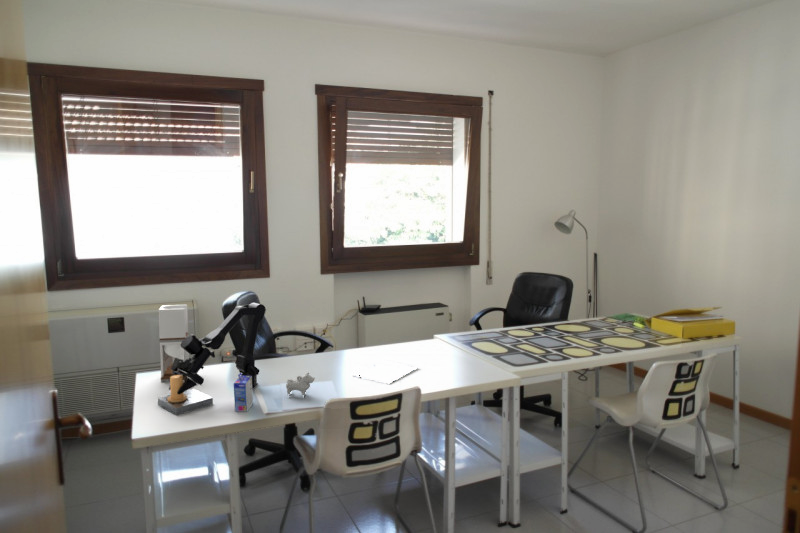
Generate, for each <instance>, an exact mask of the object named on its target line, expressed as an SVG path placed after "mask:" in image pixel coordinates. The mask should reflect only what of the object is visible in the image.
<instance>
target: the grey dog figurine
mask: <svg viewBox="0 0 800 533" xmlns="http://www.w3.org/2000/svg"><path fill="white" fill-rule="evenodd" d="M315 380H316V377H313V376H312V375H310V372H306V373H305V374H304V375H302V376H301V375H298V376H296V380H293V379H290V378H289V379H287V381H286V385H285V388H286V392H287V395H288V394H290V392H291V391H292V392H293V391H297V392H298V391H299V392H301V396H302V395H305V392H306V393H307V390H309V389H310V387H311V384H312V383H313V384H314V381H315ZM290 395H291V394H290ZM305 396H306V395H305Z"/></svg>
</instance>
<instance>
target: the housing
mask: <svg viewBox="0 0 800 533" xmlns="http://www.w3.org/2000/svg"><path fill="white" fill-rule="evenodd" d="M184 395H187V399H186V400H185V401H183V402H180V403H176V404H172V403H171V402H168V401H167V398H168V397H169V396H171V394H168V395H164V396H160V397H157V405H158V406H159V407H161V408H162V409H165V411H168V412H170V413H172V414H173V415H174V416H179V415H182V414H185V413H189V412H192V411H195V410H199V409H202V408H206V407H209V406H212V405H214V401H213V400H214V398H213V397H212V396H211V395H208V394H206V393H204V392H202V391H199V390H198V389H196V388H190V389H188V390H186V391H185V392H184Z"/></svg>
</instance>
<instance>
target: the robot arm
mask: <svg viewBox="0 0 800 533" xmlns="http://www.w3.org/2000/svg"><path fill="white" fill-rule="evenodd" d="M266 312H267V309H266V306H265V305H264V304H262V303H258V302H251V303H250V304H243V305H236V306H235V307H234V309H233V310H232V312H230V314H229V315H228V316H227V317H226V318H225V319H224V320H223V322H222V323H220V325H219V326H218V327H217V328H216V329H214V330H212V331H210V332H209V333H208V334H206V335H205V336H204V337H203V338H200V339H199V338H197V336H196V335H195V334H190V336H189V335H188V337H187V338H185V339H184V340H183V341H182V342H181V347H182V348H183V349H184V350H186V351H187V352H188V355H190V356H191V355H193V356H192V357H191V358H190V357H189V358H188V359H180V358H176V357H175V360H174V362H173V366H172V367H171V368H170V369H172V370H173V371H172V372H173V376H174V375H182V376H183V377H185V376H187V377H185V379H184V378H183V380H184V381H183V384H182V386H181V387H180V389H179V391H178V392H177V394H181V393H183V392H185V391H186V390H190V389H193V388H194V387H196V386H198V385H199V386H202V385H203V383H204V382H205V378H204V377H203V376H202V375H199V374H198V373H199V372H200V370H203V369H204V368H205V367H204V365H205V364H206V362H207V361H208V360H209V358H210V357H211V358H213V359H214V358H216V354H215V351H216V350H219V349H220V348H221V347H222V345H223V343H224V342H225V340H226V337H227V334H229V333H230V332H231V330H232V329H233V328H234V326H236V324H237V323H239V321H240V320H241V319H242V318H243V316H246V317H247V320H248V323H247V328H246V333H245V339H244V342H243V347H242V351H241V353H240V354H237V355H236V360H235V362H234V364H235V367H236V370H238V372H239V374H240V373H241V374H242V375H243V376H252V390H254V389H255V388H256V387H257V386H258V385H259V383H257V381H258V378H257V377H258V375H259V374H260V369H259V368H257V367H256V366H255V362H256V361H255V356H254V352H255V348H256V347H255V346H256V342H257V337H258V331H259V327H260V323H261V322H262V320H263V319H264V317H265V314H266ZM210 349H211V350H210ZM214 350H215V351H214ZM168 390H170V386H169V387H168ZM170 391H171V390H170Z"/></svg>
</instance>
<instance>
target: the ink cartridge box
mask: <svg viewBox="0 0 800 533" xmlns="http://www.w3.org/2000/svg"><path fill="white" fill-rule="evenodd" d="M237 376H238V378H237V379H236V380H235V381H234V382H233V398H234V399H233V401H234V412H248V411H249V409H250V407H251V406H252V404H253V401H254V400H253V399H254V397H253V395H254V394H253V389H252V376H243V375H242V373H240V372H239V374H238V375H237Z"/></svg>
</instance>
